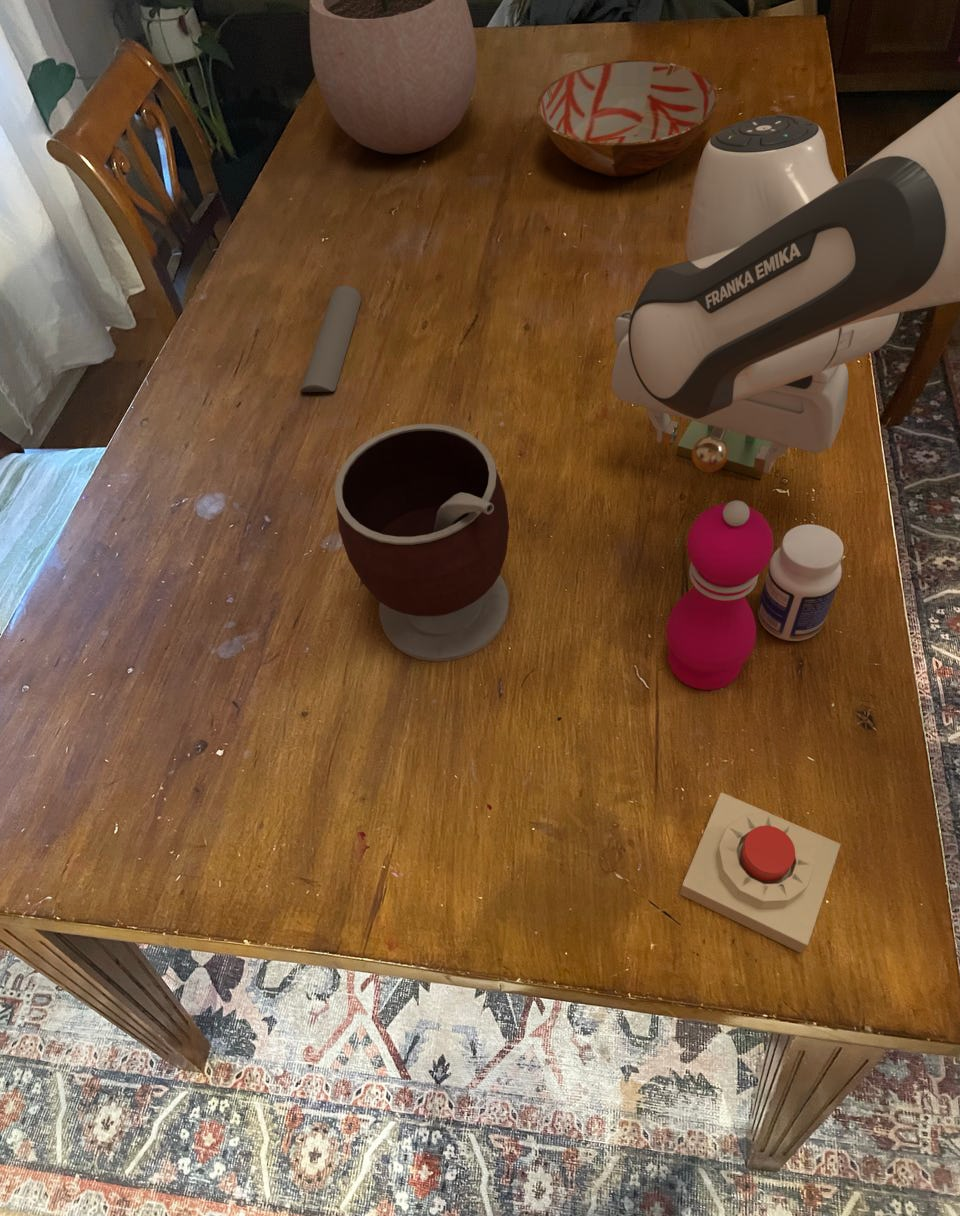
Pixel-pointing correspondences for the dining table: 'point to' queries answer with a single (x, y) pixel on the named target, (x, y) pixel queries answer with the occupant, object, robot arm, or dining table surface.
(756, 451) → the bracket
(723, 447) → the lever
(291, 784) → the dining table surface
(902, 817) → the dining table surface
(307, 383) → the gray half cylinder
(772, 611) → the pill bottle
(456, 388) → the dining table surface
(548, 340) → the dining table surface
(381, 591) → the mate gourd
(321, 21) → the plant pot
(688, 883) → the box
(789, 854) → the button
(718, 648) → the pepper mill
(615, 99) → the bowl
